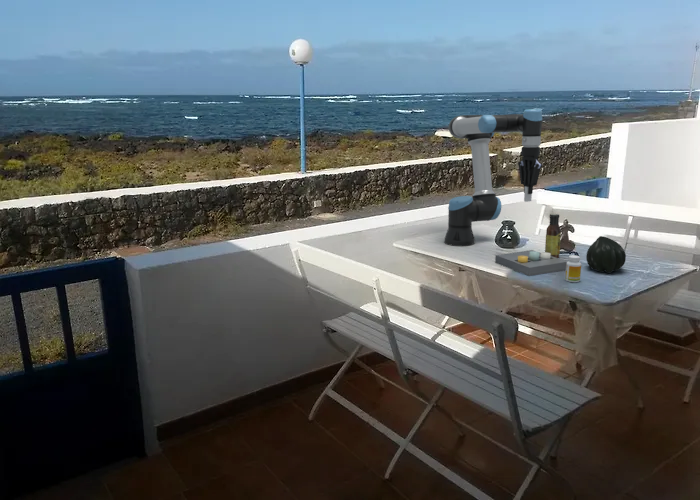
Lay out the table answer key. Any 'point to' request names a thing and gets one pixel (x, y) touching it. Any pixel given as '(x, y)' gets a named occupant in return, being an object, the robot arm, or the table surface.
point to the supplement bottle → (573, 269)
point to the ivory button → (545, 255)
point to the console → (530, 263)
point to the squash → (605, 255)
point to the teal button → (534, 256)
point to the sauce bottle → (553, 236)
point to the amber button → (523, 259)
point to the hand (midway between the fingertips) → (527, 201)
